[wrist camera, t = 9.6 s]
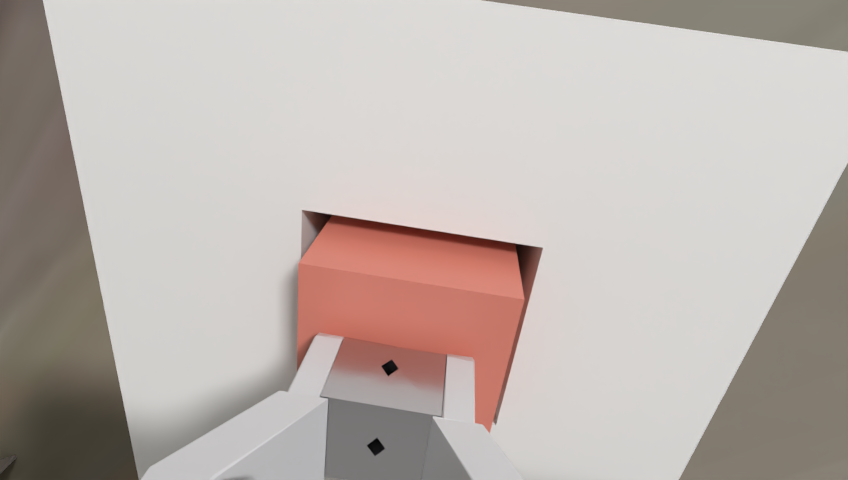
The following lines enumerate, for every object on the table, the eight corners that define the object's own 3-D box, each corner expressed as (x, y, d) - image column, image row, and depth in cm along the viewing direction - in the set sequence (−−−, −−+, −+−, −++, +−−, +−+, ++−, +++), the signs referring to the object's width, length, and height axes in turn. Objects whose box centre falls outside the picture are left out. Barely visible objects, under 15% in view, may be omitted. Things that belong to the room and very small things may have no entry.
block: (707, 36, 14) (902, 59, 7) (515, 572, 25) (528, 760, 19) (228, -32, 14) (30, -63, 8) (253, 525, 26) (181, 693, 19)
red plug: (506, 191, 13) (524, 300, 8) (481, 311, 15) (483, 459, 10) (363, 169, 13) (298, 263, 8) (355, 290, 15) (296, 427, 10)
